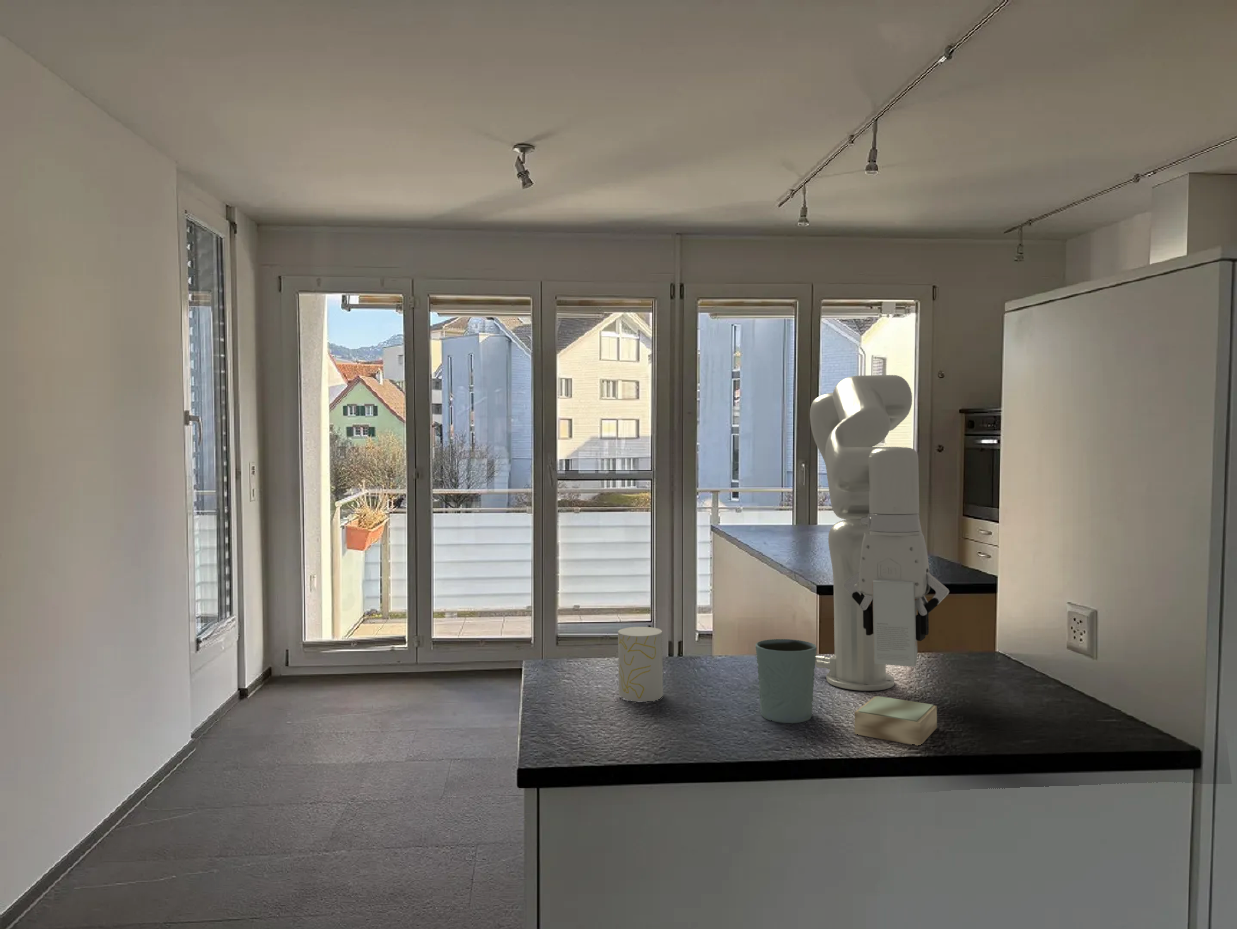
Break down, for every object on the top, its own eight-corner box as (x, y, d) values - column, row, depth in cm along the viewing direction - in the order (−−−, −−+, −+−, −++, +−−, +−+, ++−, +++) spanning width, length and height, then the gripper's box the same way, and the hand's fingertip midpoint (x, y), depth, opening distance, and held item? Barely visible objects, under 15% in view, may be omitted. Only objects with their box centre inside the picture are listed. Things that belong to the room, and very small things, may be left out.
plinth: (854, 734, 130) (854, 710, 130) (874, 717, 139) (874, 695, 139) (920, 746, 125) (919, 721, 125) (936, 727, 133) (936, 704, 133)
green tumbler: (751, 720, 138) (750, 648, 138) (762, 703, 147) (761, 636, 147) (813, 727, 134) (812, 653, 134) (820, 709, 144) (819, 640, 144)
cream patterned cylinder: (612, 700, 151) (611, 634, 150) (628, 688, 158) (627, 625, 158) (654, 704, 147) (653, 637, 147) (668, 692, 155) (668, 628, 155)
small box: (876, 653, 136) (876, 574, 136) (917, 655, 134) (916, 575, 134) (872, 664, 129) (871, 580, 129) (916, 667, 126) (915, 582, 126)
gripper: (832, 524, 133) (834, 635, 133) (945, 528, 123) (947, 647, 123) (848, 521, 139) (849, 627, 139) (957, 525, 130) (958, 638, 130)
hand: (895, 635), depth 131 cm, fingers closed on small box, 7 cm apart
